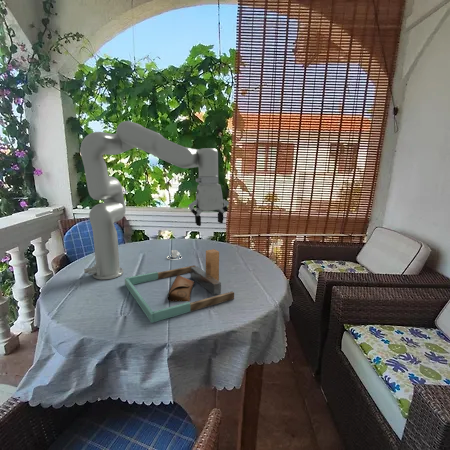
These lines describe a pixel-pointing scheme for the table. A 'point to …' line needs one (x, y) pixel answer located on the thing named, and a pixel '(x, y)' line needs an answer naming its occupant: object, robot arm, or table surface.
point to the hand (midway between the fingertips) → (209, 224)
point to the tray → (147, 310)
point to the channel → (199, 303)
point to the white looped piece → (174, 255)
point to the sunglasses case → (180, 289)
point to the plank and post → (209, 273)
